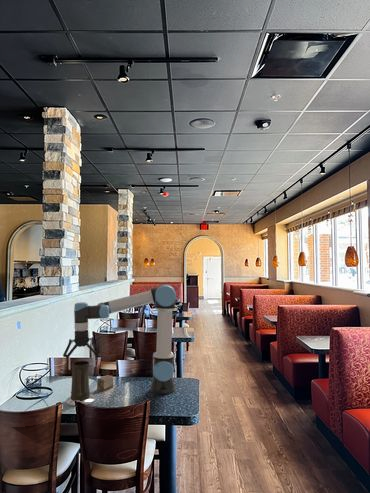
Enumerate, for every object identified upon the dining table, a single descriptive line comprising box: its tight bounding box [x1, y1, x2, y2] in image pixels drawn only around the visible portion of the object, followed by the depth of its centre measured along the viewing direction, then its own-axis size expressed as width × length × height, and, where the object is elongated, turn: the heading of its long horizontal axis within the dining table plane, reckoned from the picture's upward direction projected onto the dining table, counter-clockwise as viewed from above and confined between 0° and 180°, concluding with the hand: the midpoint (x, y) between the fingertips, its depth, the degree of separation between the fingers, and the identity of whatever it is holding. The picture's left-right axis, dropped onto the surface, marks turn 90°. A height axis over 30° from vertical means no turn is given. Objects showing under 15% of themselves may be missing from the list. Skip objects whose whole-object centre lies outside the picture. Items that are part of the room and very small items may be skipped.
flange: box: [65, 394, 96, 407], centre depth 214 cm, size 16×16×1 cm
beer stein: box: [69, 360, 91, 401], centre depth 215 cm, size 15×11×20 cm
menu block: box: [96, 374, 114, 392], centre depth 235 cm, size 5×9×7 cm, turn 149°
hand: (82, 367), depth 215 cm, fingers open, 13 cm apart
